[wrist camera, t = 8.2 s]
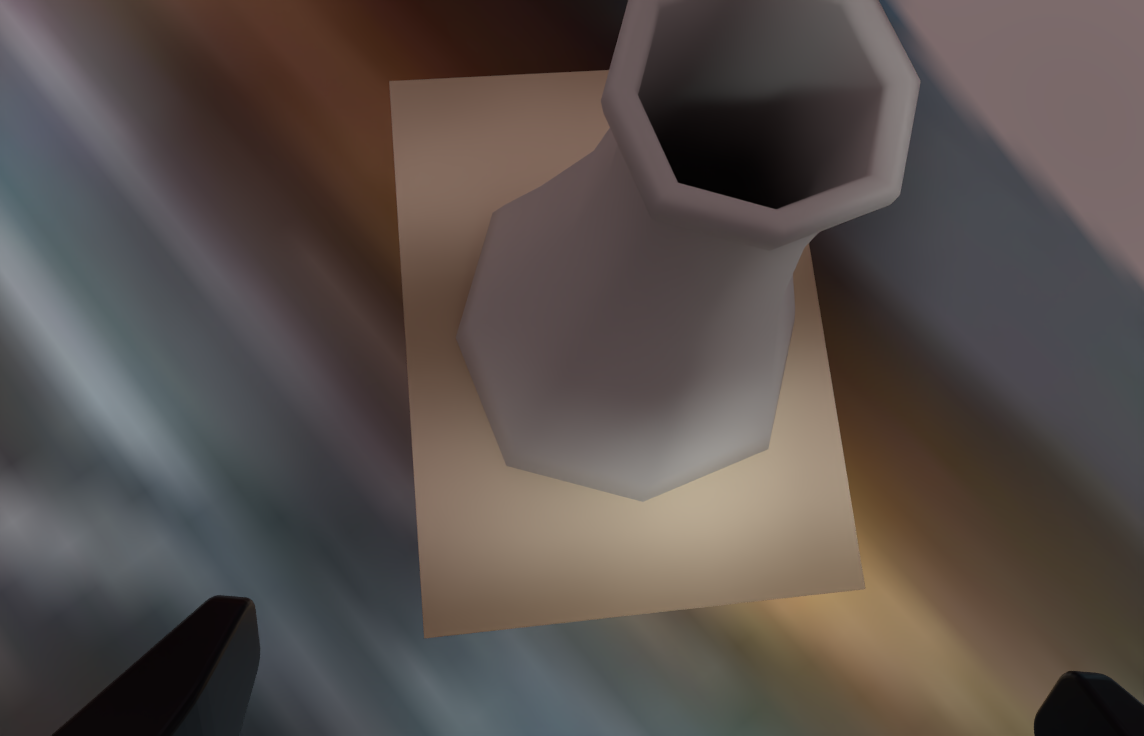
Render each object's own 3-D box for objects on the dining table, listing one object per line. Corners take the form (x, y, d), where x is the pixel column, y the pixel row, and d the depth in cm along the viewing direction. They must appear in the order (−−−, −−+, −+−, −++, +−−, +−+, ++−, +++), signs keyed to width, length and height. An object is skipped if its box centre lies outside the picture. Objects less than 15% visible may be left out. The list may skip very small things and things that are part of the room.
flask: (464, 514, 17) (403, 477, 7) (449, 180, 18) (382, -230, 9) (811, 490, 18) (1189, 427, 8) (770, 169, 19) (1048, -225, 9)
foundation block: (813, 581, 20) (865, 588, 17) (436, 623, 19) (424, 638, 16) (743, 123, 23) (779, 61, 20) (405, 143, 22) (389, 80, 19)
